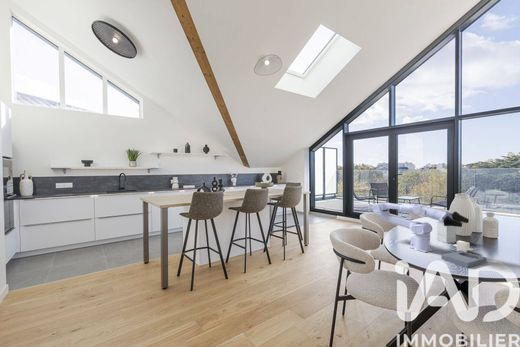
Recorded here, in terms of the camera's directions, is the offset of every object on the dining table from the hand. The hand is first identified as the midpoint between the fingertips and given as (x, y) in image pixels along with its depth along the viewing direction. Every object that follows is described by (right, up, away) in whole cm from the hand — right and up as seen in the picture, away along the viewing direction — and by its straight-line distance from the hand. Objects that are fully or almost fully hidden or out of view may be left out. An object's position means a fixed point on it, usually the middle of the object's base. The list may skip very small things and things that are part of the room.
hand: (465, 223), depth 130 cm
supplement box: (+15, -19, +34) cm, 42 cm away
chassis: (0, -20, +1) cm, 20 cm away
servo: (+10, -19, +14) cm, 26 cm away
